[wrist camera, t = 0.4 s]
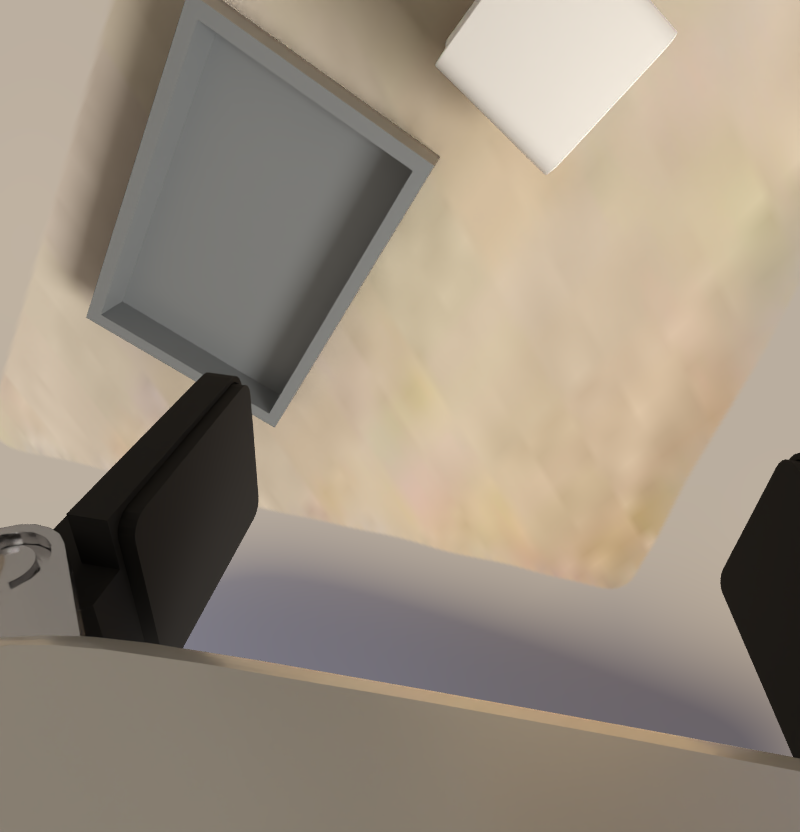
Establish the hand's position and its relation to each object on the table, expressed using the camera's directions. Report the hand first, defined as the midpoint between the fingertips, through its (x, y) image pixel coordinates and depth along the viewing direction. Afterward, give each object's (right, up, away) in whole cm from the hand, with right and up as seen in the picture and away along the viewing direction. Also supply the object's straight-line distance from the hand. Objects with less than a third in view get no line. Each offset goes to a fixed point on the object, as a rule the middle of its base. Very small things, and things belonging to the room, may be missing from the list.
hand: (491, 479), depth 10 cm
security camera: (+5, +20, +19) cm, 28 cm away
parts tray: (-11, +13, +26) cm, 31 cm away
